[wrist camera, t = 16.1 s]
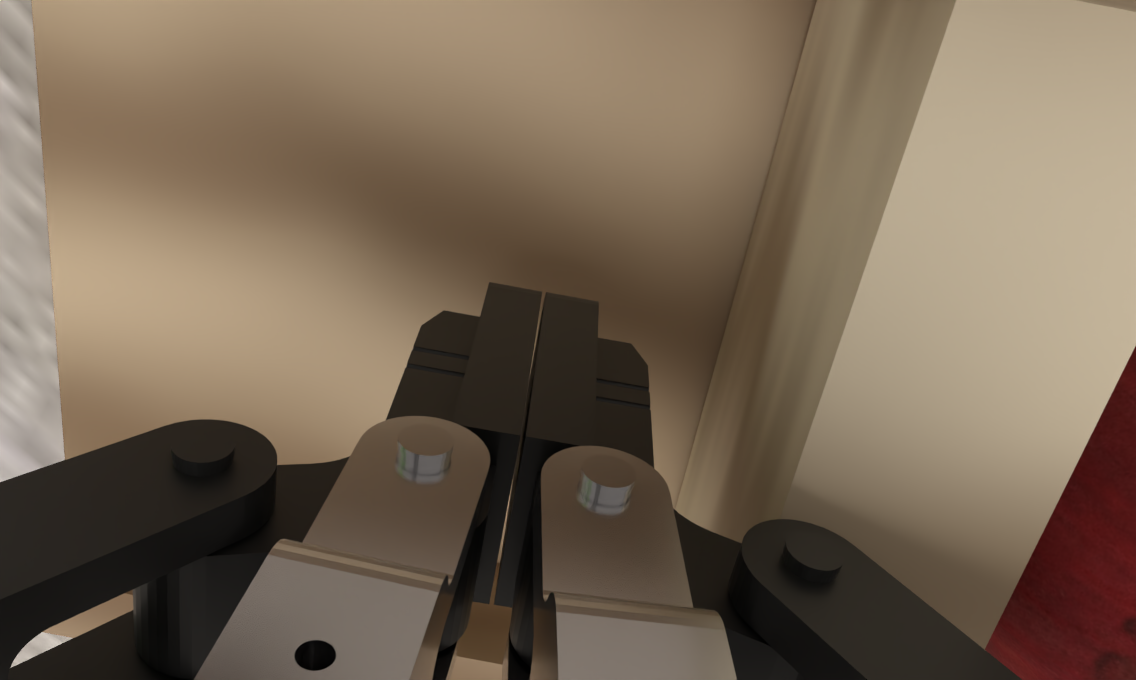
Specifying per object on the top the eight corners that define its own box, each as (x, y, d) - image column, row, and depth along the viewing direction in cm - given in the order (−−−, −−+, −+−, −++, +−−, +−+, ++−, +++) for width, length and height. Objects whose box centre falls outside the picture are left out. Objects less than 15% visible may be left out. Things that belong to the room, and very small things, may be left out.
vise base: (57, -345, 13) (-490, -498, 7) (1660, -28, 14) (2547, 101, 7) (101, 494, 20) (-162, 811, 14) (1188, 700, 20) (1436, 1109, 14)
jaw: (840, -85, 13) (964, -22, 8) (1032, -46, 13) (1286, 41, 8) (649, 602, 18) (645, 912, 13) (785, 628, 18) (836, 948, 13)
